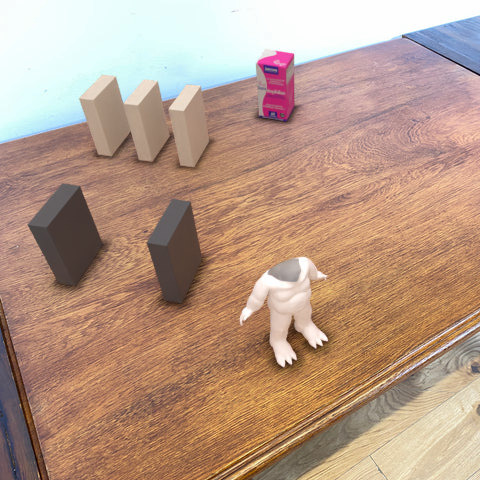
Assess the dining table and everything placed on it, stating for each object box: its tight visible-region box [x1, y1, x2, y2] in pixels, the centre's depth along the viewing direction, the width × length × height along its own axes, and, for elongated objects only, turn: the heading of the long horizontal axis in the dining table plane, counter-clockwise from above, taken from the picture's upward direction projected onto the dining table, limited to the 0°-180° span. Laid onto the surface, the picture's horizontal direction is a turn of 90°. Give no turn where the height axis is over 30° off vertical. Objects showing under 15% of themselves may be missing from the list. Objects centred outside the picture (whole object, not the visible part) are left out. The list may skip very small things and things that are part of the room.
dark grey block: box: [27, 182, 104, 287], centre depth 68 cm, size 2×8×11 cm, turn 170°
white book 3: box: [168, 83, 210, 168], centre depth 86 cm, size 2×8×11 cm, turn 170°
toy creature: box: [239, 256, 329, 368], centre depth 59 cm, size 12×6×12 cm, turn 126°
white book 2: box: [123, 79, 171, 163], centre depth 87 cm, size 2×8×11 cm, turn 170°
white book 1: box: [78, 74, 131, 157], centre depth 88 cm, size 2×8×11 cm, turn 170°
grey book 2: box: [146, 198, 203, 304], centre depth 66 cm, size 2×8×11 cm, turn 170°
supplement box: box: [255, 48, 295, 122], centre depth 96 cm, size 6×6×12 cm
